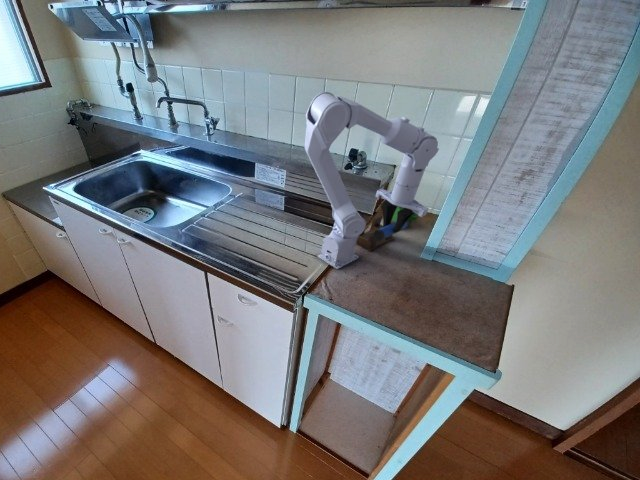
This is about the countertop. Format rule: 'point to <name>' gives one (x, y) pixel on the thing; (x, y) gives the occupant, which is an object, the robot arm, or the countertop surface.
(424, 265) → the countertop surface
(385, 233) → the handle
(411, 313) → the countertop surface
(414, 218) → the clamp
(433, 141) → the robot arm
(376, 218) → the holder
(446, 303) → the countertop surface
